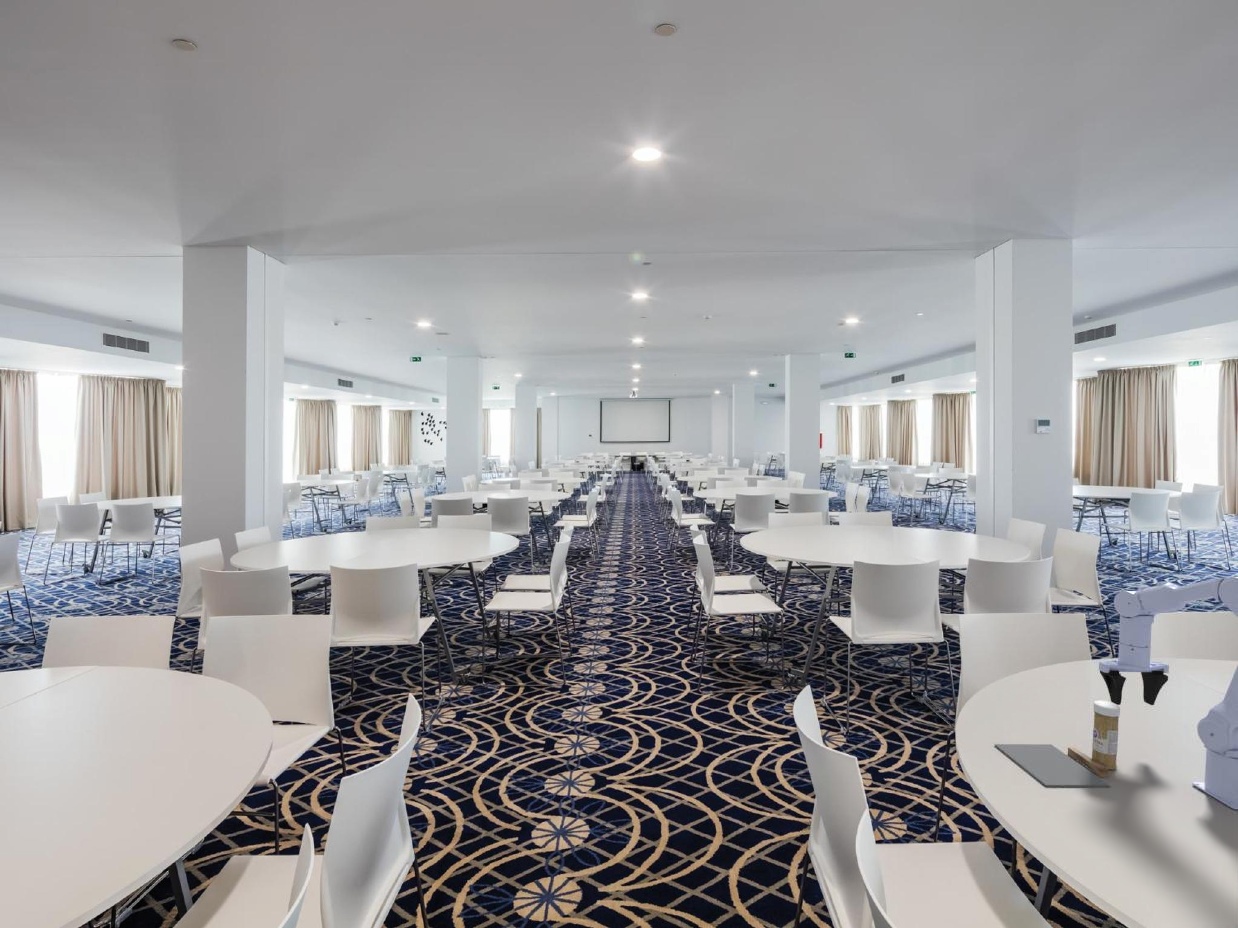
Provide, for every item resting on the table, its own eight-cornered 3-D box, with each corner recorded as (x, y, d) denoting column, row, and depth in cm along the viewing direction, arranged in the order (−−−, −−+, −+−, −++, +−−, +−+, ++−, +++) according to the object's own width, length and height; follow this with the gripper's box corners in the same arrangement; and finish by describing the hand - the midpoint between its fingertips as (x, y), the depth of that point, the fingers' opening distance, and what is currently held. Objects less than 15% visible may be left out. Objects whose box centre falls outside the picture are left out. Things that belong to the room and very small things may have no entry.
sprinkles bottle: (1085, 760, 149) (1088, 699, 148) (1105, 759, 149) (1108, 699, 148) (1102, 771, 144) (1105, 708, 143) (1122, 770, 144) (1125, 707, 144)
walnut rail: (1107, 776, 141) (1107, 769, 141) (1100, 776, 141) (1100, 769, 141) (1074, 754, 151) (1074, 747, 151) (1067, 754, 151) (1068, 747, 151)
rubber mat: (1109, 786, 137) (1109, 784, 137) (1045, 786, 137) (1045, 784, 137) (1051, 746, 155) (1051, 744, 155) (994, 745, 155) (994, 743, 155)
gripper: (1152, 639, 159) (1150, 696, 159) (1090, 638, 158) (1088, 696, 159) (1177, 648, 152) (1175, 708, 152) (1112, 647, 151) (1110, 708, 152)
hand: (1132, 703), depth 155 cm, fingers open, 7 cm apart
